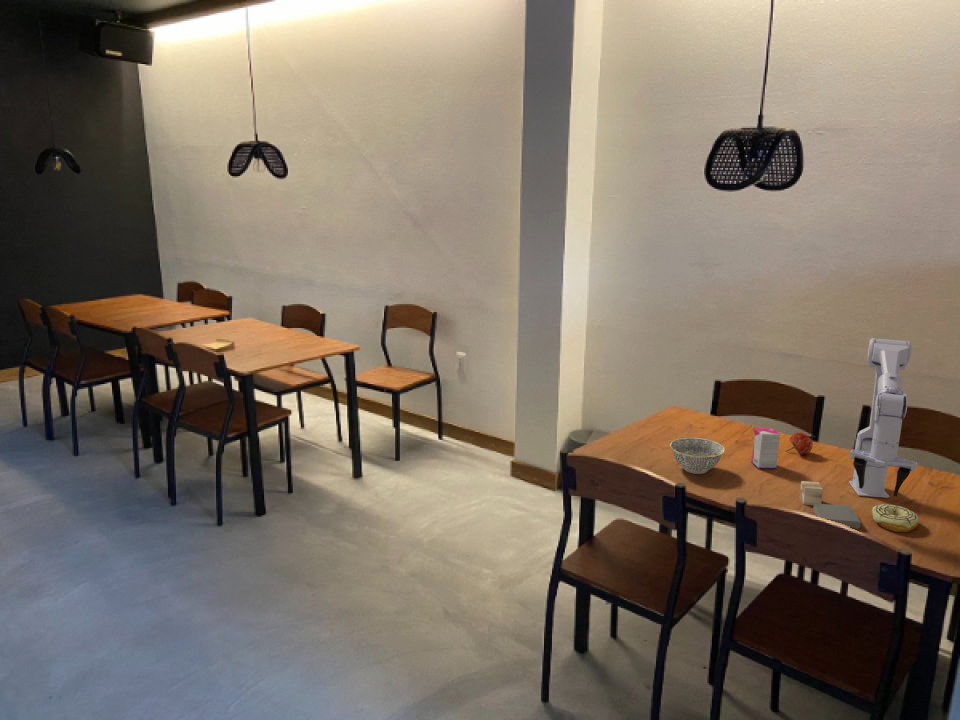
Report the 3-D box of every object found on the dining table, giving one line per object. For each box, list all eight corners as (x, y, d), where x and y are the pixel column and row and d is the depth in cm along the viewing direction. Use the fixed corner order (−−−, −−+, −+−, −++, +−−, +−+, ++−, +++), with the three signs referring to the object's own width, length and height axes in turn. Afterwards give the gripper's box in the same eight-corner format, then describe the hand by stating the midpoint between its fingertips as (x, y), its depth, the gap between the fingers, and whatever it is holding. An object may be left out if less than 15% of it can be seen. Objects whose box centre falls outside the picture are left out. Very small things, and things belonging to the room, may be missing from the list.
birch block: (799, 497, 198) (801, 481, 197) (816, 498, 197) (818, 482, 196) (803, 504, 194) (805, 487, 193) (820, 506, 193) (823, 489, 192)
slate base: (813, 510, 191) (813, 503, 190) (849, 513, 189) (850, 506, 188) (821, 525, 182) (822, 518, 182) (859, 528, 180) (860, 521, 180)
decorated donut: (868, 527, 181) (870, 514, 181) (872, 511, 190) (874, 498, 189) (916, 538, 176) (918, 524, 175) (917, 520, 185) (919, 507, 184)
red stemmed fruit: (790, 463, 228) (820, 449, 223) (777, 443, 229) (806, 429, 224) (793, 458, 234) (821, 444, 229) (780, 438, 235) (808, 424, 231)
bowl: (662, 474, 214) (664, 450, 212) (675, 456, 228) (676, 434, 226) (717, 484, 207) (719, 460, 205) (726, 465, 221) (728, 442, 219)
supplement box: (777, 469, 217) (780, 434, 214) (757, 469, 217) (761, 434, 214) (769, 462, 223) (773, 427, 220) (750, 462, 223) (753, 427, 220)
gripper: (850, 438, 177) (843, 489, 180) (917, 451, 169) (909, 504, 172) (855, 430, 182) (849, 479, 186) (921, 443, 174) (913, 493, 177)
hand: (878, 490), depth 179 cm, fingers open, 7 cm apart
